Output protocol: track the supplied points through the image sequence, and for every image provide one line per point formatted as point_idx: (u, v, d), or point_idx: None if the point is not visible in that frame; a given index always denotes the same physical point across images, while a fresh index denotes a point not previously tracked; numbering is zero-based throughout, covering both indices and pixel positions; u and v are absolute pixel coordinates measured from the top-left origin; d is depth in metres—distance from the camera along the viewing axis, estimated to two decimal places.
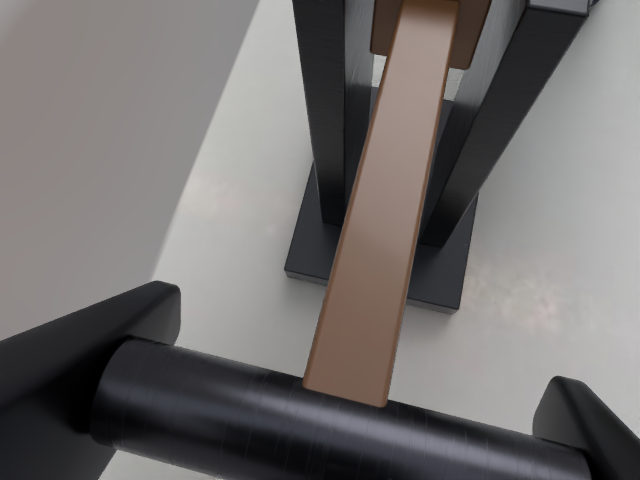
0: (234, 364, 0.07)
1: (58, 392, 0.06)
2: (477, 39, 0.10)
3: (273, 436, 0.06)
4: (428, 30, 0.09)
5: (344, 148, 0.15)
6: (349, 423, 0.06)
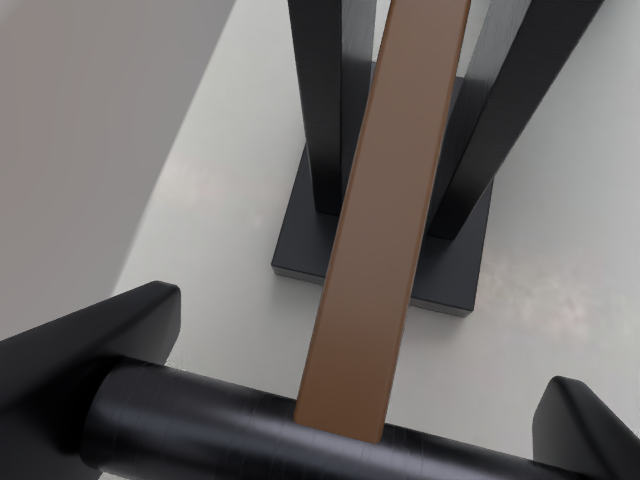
0: (222, 394, 0.07)
1: (58, 392, 0.06)
2: None
3: None
4: None
5: (341, 107, 0.12)
6: (340, 466, 0.06)
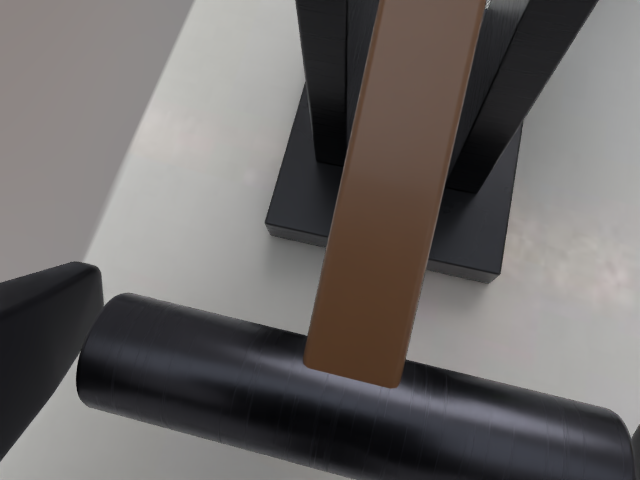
0: (225, 335, 0.06)
1: None
2: None
3: (271, 427, 0.06)
4: None
5: (346, 4, 0.10)
6: (355, 413, 0.05)
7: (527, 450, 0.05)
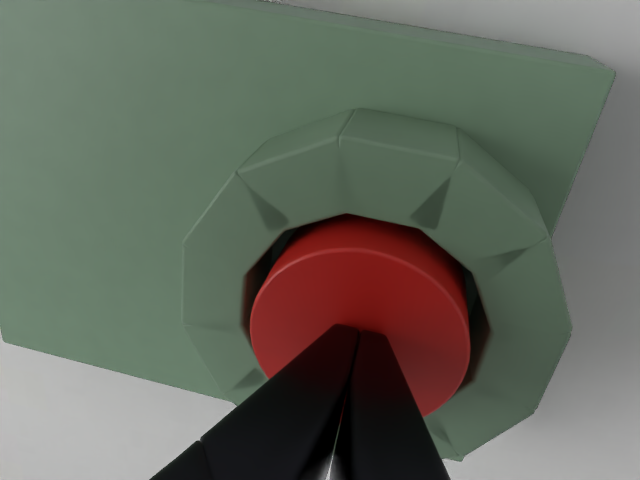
0: None
1: (312, 460, 0.06)
2: None
3: None
4: None
5: None
6: None
7: None
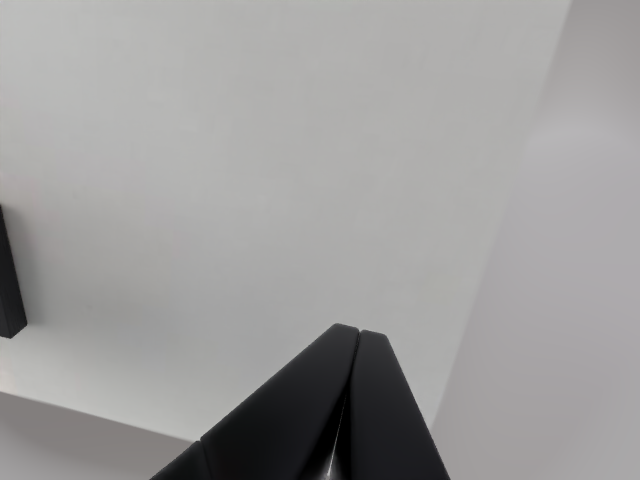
0: None
1: (312, 460, 0.06)
2: None
3: None
4: None
5: None
6: None
7: None
